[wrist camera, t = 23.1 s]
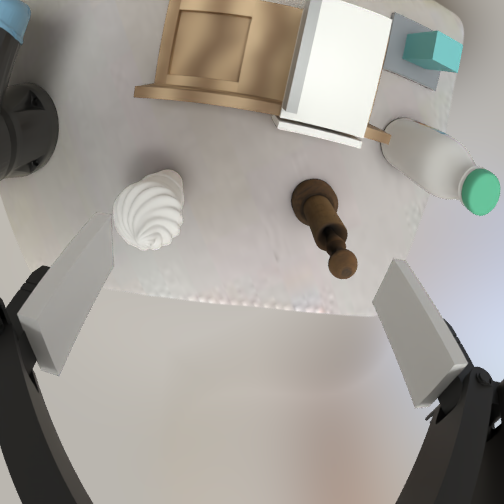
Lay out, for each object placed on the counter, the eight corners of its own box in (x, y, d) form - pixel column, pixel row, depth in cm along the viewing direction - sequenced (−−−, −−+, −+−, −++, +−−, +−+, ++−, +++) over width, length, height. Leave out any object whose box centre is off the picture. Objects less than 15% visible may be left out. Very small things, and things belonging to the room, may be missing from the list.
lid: (271, 118, 36) (280, 134, 27) (296, 6, 29) (314, -17, 19) (340, 133, 37) (370, 156, 28) (365, 27, 30) (405, 16, 20)
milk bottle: (386, 173, 43) (459, 242, 26) (373, 125, 39) (452, 171, 22) (428, 158, 41) (511, 216, 25) (417, 111, 38) (509, 148, 21)
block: (402, 58, 33) (432, 59, 26) (407, 34, 31) (437, 30, 24) (425, 69, 33) (457, 72, 26) (430, 45, 31) (462, 45, 24)
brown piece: (157, 91, 36) (133, 97, 28) (174, -5, 29) (155, -24, 21) (361, 128, 40) (388, 144, 32) (383, 38, 32) (416, 33, 24)
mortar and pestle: (343, 199, 45) (388, 269, 30) (312, 227, 48) (341, 307, 33) (313, 169, 43) (351, 230, 28) (281, 200, 45) (300, 274, 30)
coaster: (380, 67, 35) (383, 68, 34) (392, 13, 30) (395, 12, 29) (432, 90, 36) (435, 90, 35) (443, 38, 31) (447, 38, 30)
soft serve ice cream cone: (131, 189, 44) (86, 245, 30) (159, 143, 40) (117, 183, 27) (177, 219, 47) (150, 285, 33) (208, 176, 43) (190, 231, 30)
